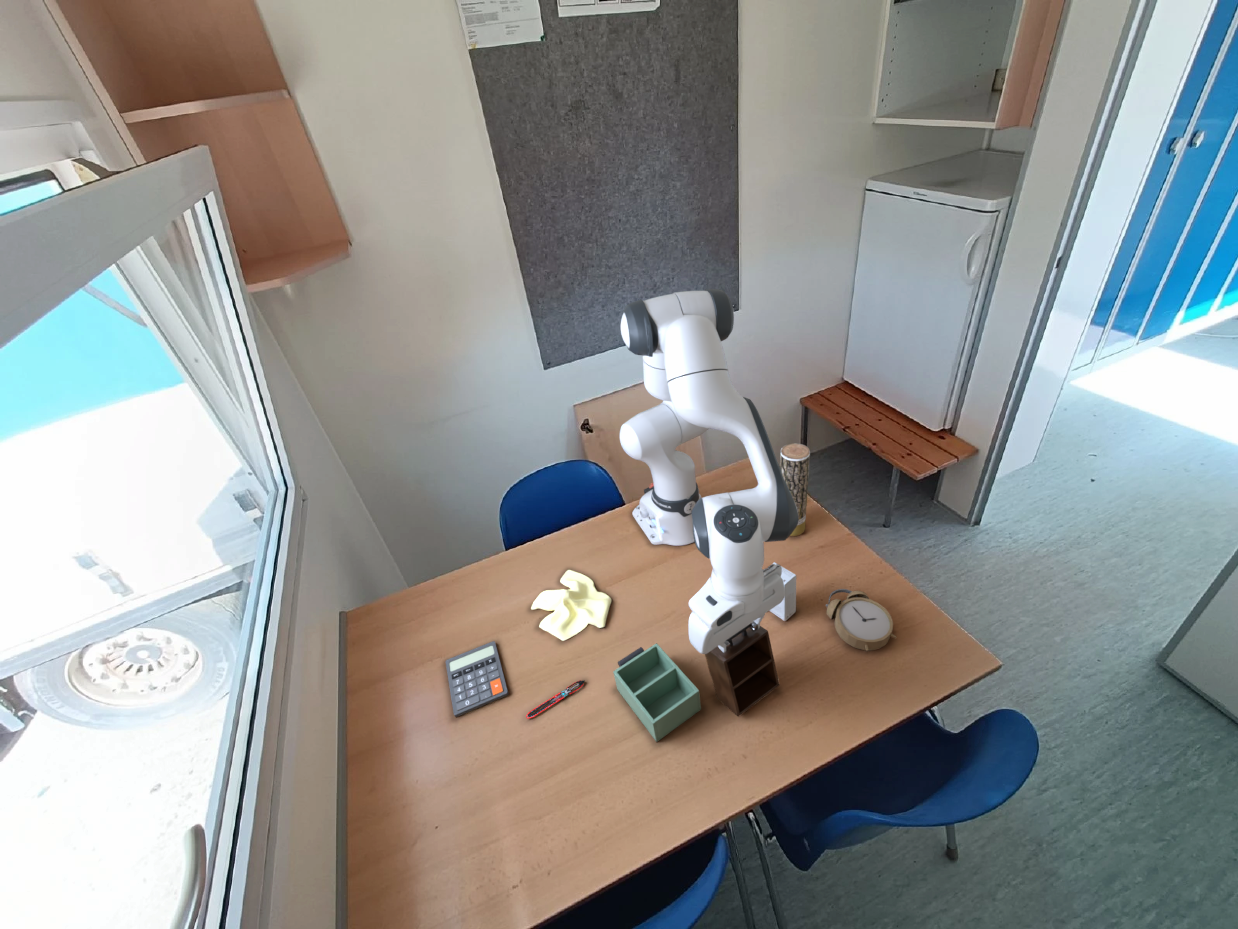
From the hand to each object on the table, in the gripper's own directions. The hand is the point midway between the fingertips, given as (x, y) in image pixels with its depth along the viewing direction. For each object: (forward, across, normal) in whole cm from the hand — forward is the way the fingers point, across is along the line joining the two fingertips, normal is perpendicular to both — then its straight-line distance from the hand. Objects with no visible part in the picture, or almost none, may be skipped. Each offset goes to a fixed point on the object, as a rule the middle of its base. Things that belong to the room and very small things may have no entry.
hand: (738, 638), depth 106 cm
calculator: (+16, +44, -37) cm, 59 cm away
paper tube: (+16, -42, -26) cm, 52 cm away
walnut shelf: (+7, 0, -3) cm, 8 cm away
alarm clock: (+16, -30, +4) cm, 34 cm away
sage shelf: (+16, +15, -9) cm, 24 cm away
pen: (+16, +32, -21) cm, 41 cm away
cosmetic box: (+16, -20, -9) cm, 27 cm away
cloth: (+16, +17, -42) cm, 48 cm away
